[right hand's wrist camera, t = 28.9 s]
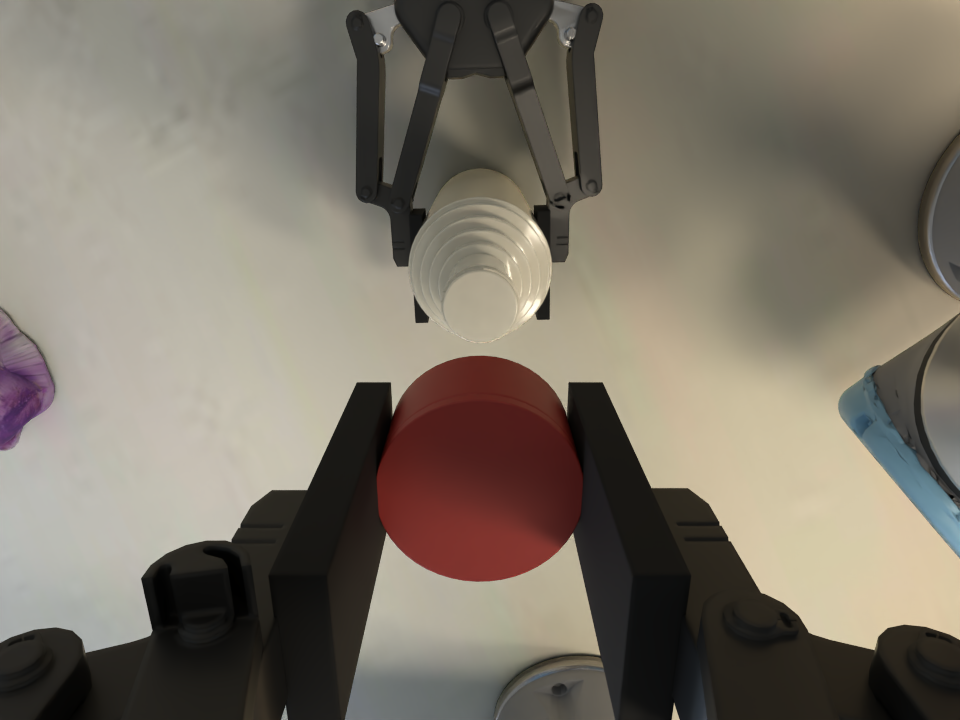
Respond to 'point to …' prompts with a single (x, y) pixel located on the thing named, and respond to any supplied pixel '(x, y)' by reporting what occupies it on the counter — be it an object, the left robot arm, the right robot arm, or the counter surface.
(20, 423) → the figurine
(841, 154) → the counter surface
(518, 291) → the bottle
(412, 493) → the cap
